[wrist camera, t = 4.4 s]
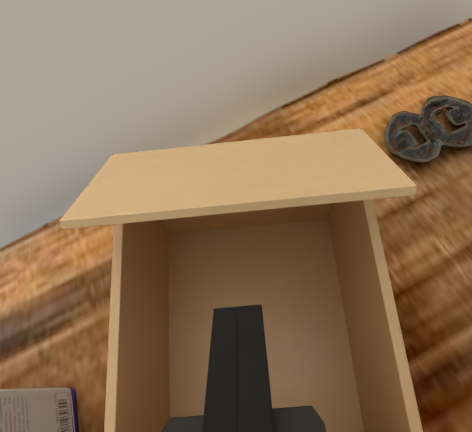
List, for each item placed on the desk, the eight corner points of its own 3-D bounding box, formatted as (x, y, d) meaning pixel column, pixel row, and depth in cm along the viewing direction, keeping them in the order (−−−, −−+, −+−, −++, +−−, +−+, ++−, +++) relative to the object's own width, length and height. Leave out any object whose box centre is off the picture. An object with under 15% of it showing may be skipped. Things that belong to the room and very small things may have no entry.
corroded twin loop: (367, 130, 34) (370, 122, 33) (453, 92, 35) (458, 84, 34) (402, 179, 32) (406, 173, 31) (492, 139, 33) (498, 131, 32)
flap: (113, 161, 22) (112, 154, 22) (361, 135, 21) (361, 128, 21) (62, 230, 15) (58, 220, 15) (416, 195, 15) (417, 185, 15)
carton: (163, 230, 32) (116, 163, 23) (333, 214, 32) (359, 137, 22) (164, 452, 26) (101, 489, 17) (372, 438, 26) (431, 468, 16)
